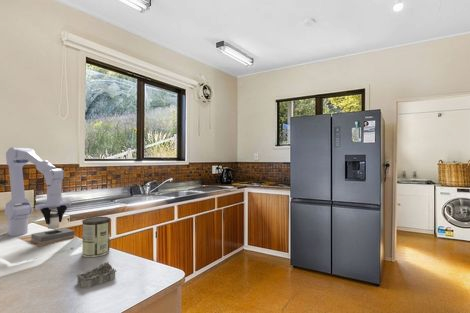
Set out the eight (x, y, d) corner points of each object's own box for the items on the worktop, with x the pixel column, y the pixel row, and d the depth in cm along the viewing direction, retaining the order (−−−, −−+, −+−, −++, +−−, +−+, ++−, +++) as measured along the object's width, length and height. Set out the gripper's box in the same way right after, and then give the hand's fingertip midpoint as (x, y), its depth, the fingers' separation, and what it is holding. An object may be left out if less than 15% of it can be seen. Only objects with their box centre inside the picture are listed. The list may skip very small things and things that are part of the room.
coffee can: (92, 248, 117) (92, 216, 117) (114, 249, 116) (115, 216, 116) (75, 256, 107) (76, 221, 107) (100, 258, 106) (100, 222, 106)
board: (16, 239, 128) (16, 237, 128) (55, 231, 142) (56, 229, 142) (38, 249, 115) (38, 247, 115) (79, 239, 129) (79, 237, 129)
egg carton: (109, 272, 93) (110, 261, 93) (118, 280, 88) (118, 267, 88) (74, 282, 86) (75, 269, 86) (81, 290, 80) (82, 277, 80)
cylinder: (46, 227, 126) (46, 214, 126) (56, 226, 130) (56, 212, 130) (50, 229, 124) (50, 215, 124) (60, 227, 127) (60, 213, 127)
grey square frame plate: (40, 244, 118) (41, 237, 118) (31, 240, 123) (31, 233, 123) (74, 237, 130) (74, 230, 130) (64, 233, 135) (64, 227, 135)
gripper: (40, 196, 118) (39, 227, 118) (74, 193, 131) (74, 221, 131) (33, 195, 122) (32, 224, 122) (67, 192, 135) (66, 219, 134)
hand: (53, 222), depth 127 cm, fingers closed on cylinder, 4 cm apart
